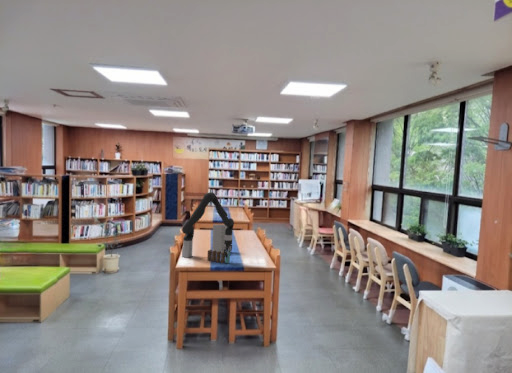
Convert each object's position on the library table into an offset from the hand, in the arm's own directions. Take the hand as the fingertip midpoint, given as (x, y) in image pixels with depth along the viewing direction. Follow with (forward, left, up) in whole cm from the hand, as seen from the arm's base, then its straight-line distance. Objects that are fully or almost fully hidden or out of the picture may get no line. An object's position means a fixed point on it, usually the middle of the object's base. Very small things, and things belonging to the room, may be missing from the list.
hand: (227, 256), depth 301 cm
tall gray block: (-26, +30, -7) cm, 40 cm away
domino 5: (0, 0, -6) cm, 6 cm away
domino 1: (-20, 0, -7) cm, 21 cm away
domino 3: (-10, 0, -7) cm, 12 cm away
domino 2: (-15, 0, -7) cm, 16 cm away
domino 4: (-5, 0, -7) cm, 8 cm away
